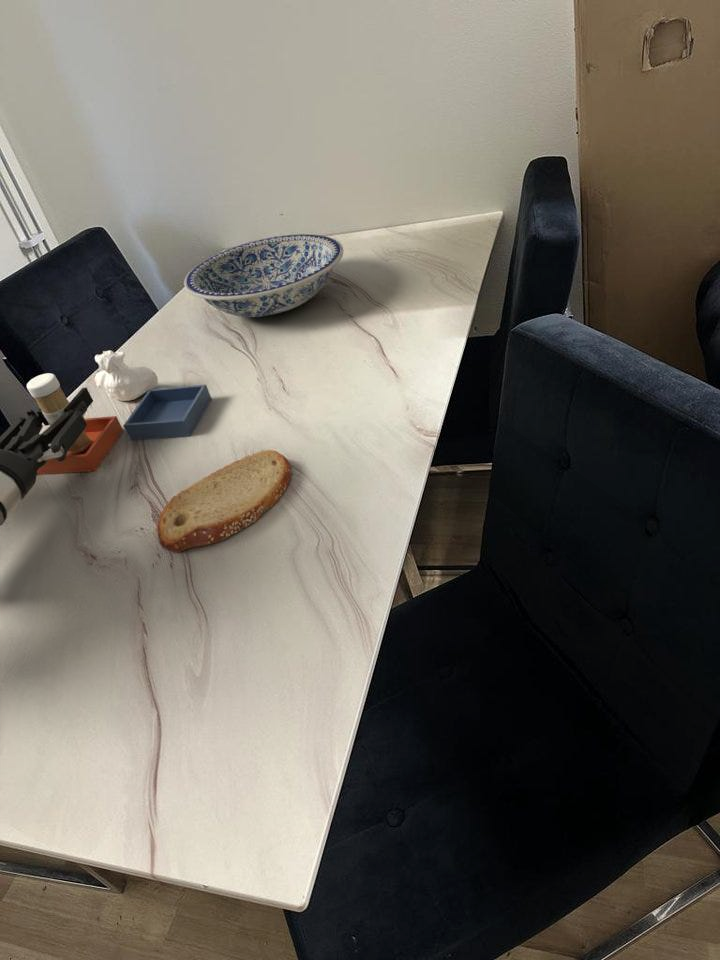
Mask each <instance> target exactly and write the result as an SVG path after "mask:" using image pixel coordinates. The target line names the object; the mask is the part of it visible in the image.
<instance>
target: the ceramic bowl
mask: <svg viewBox="0 0 720 960" xmlns="http://www.w3.org/2000/svg"><path fill="white" fill-rule="evenodd" d="M344 250H345V249H344V247H343V244H342V243H341V242H340V241H339V240H337V239H335V238H333V237H330V236H326V235H322V234H312V233H311V234H310V233H309V234H308V233H307V234H306V233H297V234H287V235H285V234H284V235H279V236H272V237H266V238H261V239H257V240H253V241H249V242H245V243H242V244H239V245H236V246H233V247H231V248H230V247H229V248H228V249H225V250H222V251H221V252H218V253H216V254H214V255H212V256H210V257H208V258H206V259H205V260H203V261H202V262H200V263H198V264H197V265H196V266H194V267H193V268H192V269H190V271H189V272H188V273H187V274H186V276H185V278H184V282H183V283H184V287H185V290H186V291H187V292H188V294H190V295H192V296H194V297H196V298H200V299H203V300H204V301H205V302H207V303H208V304H209V305H211V306H212V307H213V308H215V309H217V310H218V311H221V312H224V313H225V314H229V315H233V316H236V317H243V318H245V317H246V318H256V317H267V316H273V315H277V314H280V313H283V312H287V311H291V310H292V309H295V308H297V307H300V306H301V305H304V304H305V303H307V302H309V301H310V300H311V299H312V298H313V297H315V296H316V295H317V294H318V293H319V292H320V291H321V290H322V289H323V288H324V286H325V285H326V283H327V282H328V280H329V278H330V276H331V274H332V273H333V269H334V267H335V266H337V265H338V263H339V262H340V261H341V260H342V258H343V256H344Z"/></svg>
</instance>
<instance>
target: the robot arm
mask: <svg viewBox="0 0 720 960" xmlns="http://www.w3.org/2000/svg"><path fill="white" fill-rule="evenodd" d="M93 403H94V400H93V397H92V396H91V393H90V392H89V390H88V388H87V387H81V389H80V390H79V391H78V392H77V393H76V395H75V396H73V398H72V399H71V400H70V401H69V404H68V405H67V406H66V407H65V409H64V411H65V414H63V415H62V416H61V417H60V418H59V419H58V420H56V421H55V422H54V423H53V424H52V425H51V426H50V425H49V423H48V421H47V420H46V418H45V416H44V415H43V413H42V410H41V409H40V408H39V409H38V410H37V411H36V412H35V410H34V409H29V410H27V411H26V414H27V416H28V417H27V418H26V417H25V416H19V417H17V418H16V420H14V421H13V423H12V424H11V425H10V426H9V427H8V428H7V429H6V430H5V431H4V432H3V433H2V434H1V435H0V527H1V526H2V525H3V524H4V523H5V522H6V520H7V519H8V518H9V516H10V515H11V514H12V512H14V510H15V509H16V508H17V507H18V505H19V504H20V503H21V501H22V500H23V499H24V498H25V497H26V496H27V495H28V493H29V492H30V491H31V490H32V488H33V487H34V486H35V484H36V482H37V475H38V474H37V470H38V469H39V468H41V467H42V466H44V465H45V464H46V462H47V460H50V459H53V458H56V459H57V460H58V462H61V461H63V460H65V458H66V455H67V452H68V450H69V449H70V448H71V446H72V445H73V444H74V442H75V441H76V440H77V438H78V437H79V436H80V434H81V433H82V432H83V430H84V429H85V428H86V426H87V423H86V421H85V419H86V418H84V415H85V414H86V412H87V411H88V409H89V407H90V406H91V405H92V404H93ZM44 426H45V427H47V426H48V427H47V428H46V429H45V430H44V431H43V432H41V431H42V429H43V428H44Z"/></svg>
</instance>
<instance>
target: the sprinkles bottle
mask: <svg viewBox="0 0 720 960" xmlns="http://www.w3.org/2000/svg"><path fill="white" fill-rule="evenodd" d="M26 389H27V391H28V392H29V394H30V395H31V397H32V398H33V399H34V401H35V402H36V403H37V406H38V407H39V409H41V410H42V413H43V415H44V416H45V418H46V420H47V421H48V423H49V425H48V426H49V427H50V426H51V425H52V424H53V423H54V422H55V421H56V420H58V419H59V418H60V417H61V416H62V415H63V414H65V411H64V409H65V407H66V406H67V405H68V404H69V403H70V401H69V400H68V398H67V397H66V395H65V393H64V392H63V390H62V388H61V385H60V382H59V380H58V378H57V377H56V375H55V373H51V372H48V373H47V372H46V373H42V374H39V375H37V376H35V377H32V378H31V379H30V380H29V381H28V382H27V383H26ZM90 444H91V440H90V439H89V438H88V436H87V435H86V433H85V431H84V430H83V432H82V433H81V434H80V436H79V437H78V438H77V440H76V441H75V442H74V444H73V445H72V446H71V448H70V449H69V450H68V452H67V454H77V453H80V452H82V451H84V450H86V449H87V448H88V447H89V445H90Z"/></svg>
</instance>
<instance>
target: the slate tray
mask: <svg viewBox="0 0 720 960" xmlns="http://www.w3.org/2000/svg"><path fill="white" fill-rule="evenodd" d="M211 401H212V396H211V394H210V391H209V389H208V386H207V384H197V385H196V384H195V385H184V386H176V387H175V386H173V387H162V388H153V389H149V390H148V391H146V392H145V395H144V396H143V397H142V399H141V400H140V401H139V403H138V404H137V406H136V407H135V408H134V410H133V411H132V413H131V414H130V416H129V417H128V418H127V420H126V421H125V423H123V426H122V427H123V429H124V430H125V432H126V434H127V436H128V438H129V440H130V441H139V440H140V441H142V440H154V439H155V440H156V439H168V438H169V439H170V438H171V439H172V438H182V437H184V438H185V437H191V436H192V434H193V432H194V431H195V429H196V428H197V425H198V424H199V422H200V421H201V419H202V417H203V416H204V413H205V412H206V410H207V408H208V406H209V405H210V403H211Z"/></svg>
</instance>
